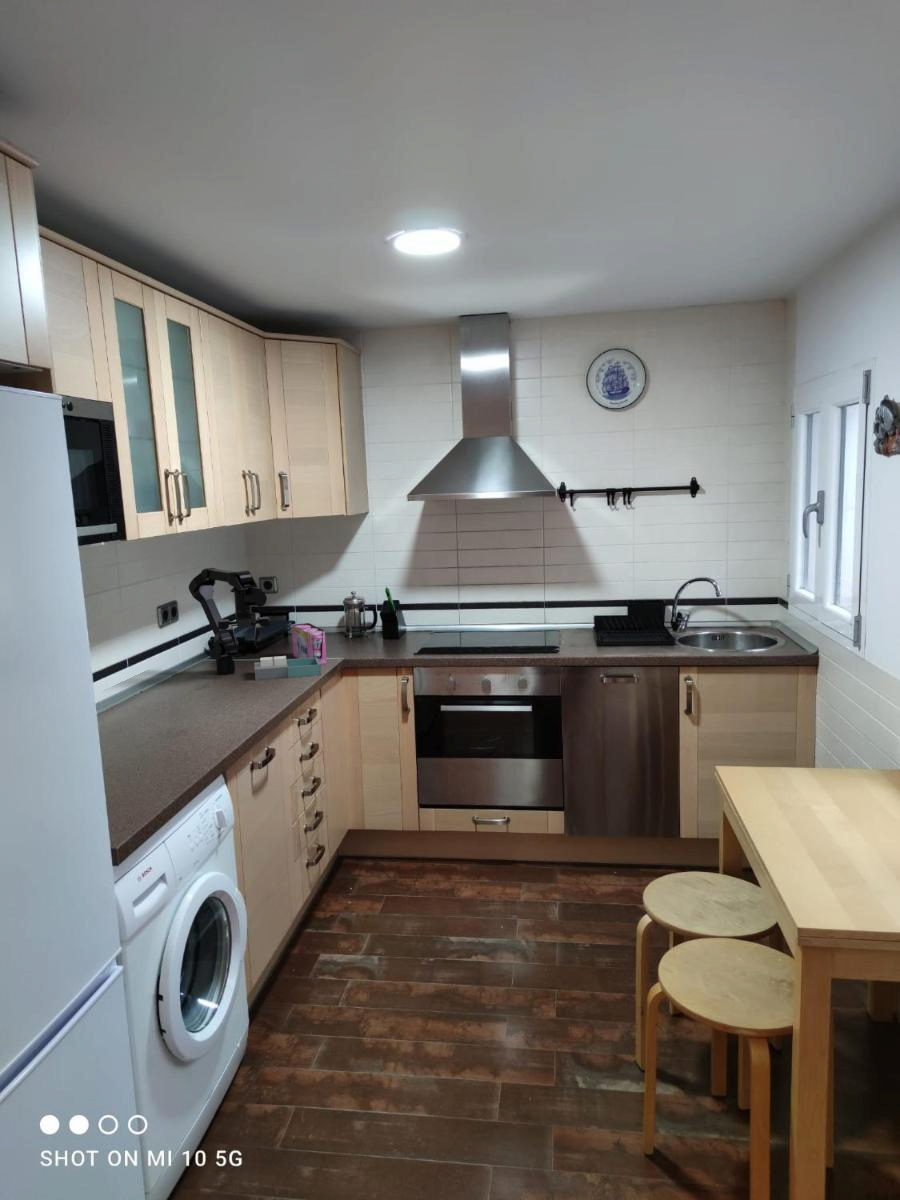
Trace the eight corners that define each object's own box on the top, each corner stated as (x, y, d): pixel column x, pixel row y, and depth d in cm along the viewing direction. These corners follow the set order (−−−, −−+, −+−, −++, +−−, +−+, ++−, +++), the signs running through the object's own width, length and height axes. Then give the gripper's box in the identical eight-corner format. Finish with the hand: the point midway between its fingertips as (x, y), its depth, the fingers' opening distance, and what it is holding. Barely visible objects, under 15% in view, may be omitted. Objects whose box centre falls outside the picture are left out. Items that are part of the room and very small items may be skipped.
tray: (288, 677, 292) (287, 667, 291) (286, 669, 305) (285, 659, 305) (320, 675, 295) (320, 664, 294) (317, 667, 308) (317, 657, 308)
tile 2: (274, 665, 295) (274, 659, 294) (274, 663, 299) (273, 656, 299) (286, 664, 296) (286, 658, 295) (285, 662, 300) (285, 655, 300)
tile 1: (260, 666, 293) (260, 660, 293) (260, 664, 298) (260, 657, 297) (273, 665, 294) (272, 659, 294) (272, 663, 299) (272, 656, 298)
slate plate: (255, 679, 290) (254, 669, 289) (254, 672, 301) (254, 662, 301) (288, 677, 293) (287, 666, 292) (286, 670, 304) (286, 660, 304)
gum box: (328, 664, 313) (326, 631, 311) (309, 667, 309) (307, 633, 308) (310, 653, 334) (309, 622, 332) (292, 656, 331) (291, 624, 329)
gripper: (216, 609, 281) (219, 651, 283) (269, 606, 286) (271, 648, 288) (217, 605, 291) (219, 646, 294) (268, 602, 296) (270, 642, 299)
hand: (245, 645), depth 293 cm, fingers open, 7 cm apart
